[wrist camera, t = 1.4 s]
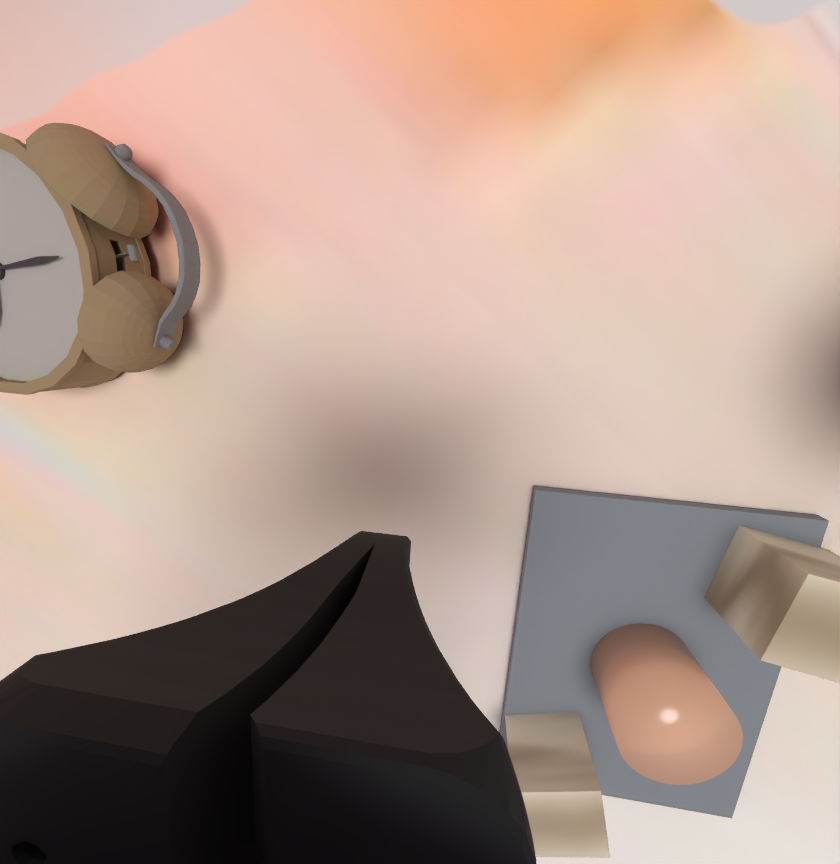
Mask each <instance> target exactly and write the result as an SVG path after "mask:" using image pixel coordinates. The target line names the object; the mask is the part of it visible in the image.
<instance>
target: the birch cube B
mask: <svg viewBox="0 0 840 864" xmlns="http://www.w3.org/2000/svg"><path fill="white" fill-rule="evenodd" d="M704 598H705V599H706V600H707V601H708V602H709V604H710V605H711V606H712V607H713V608H714V609H715V610H716V611H717V612H718V614H719V615H720V616H721V617H722V618H723V619H724V620H725V621H726V622H727V624H728V625H729V626H730V627H731V628H732V629H733V630H734V631H735V632H736V634H737V635H738V636H739V637H740V638H741V639H742V640H743V641H744V642H745V644H746V645H747V646H748V647H749V648H750V649H751V650H752V651H753V652H754V654H755V655H756V656H757V657H758V658H759V659H760V660H761V661H765V662H768V663H772V664H775V665H779V666H782V667H785V668H789V669H792V670H796V671H799V672H803V673H806V674H810V675H813V676H817V677H820V678H823V679H827V680H830V681H834V682H837V683H840V556H838V555H837V554H835V553H833V552H831V551H830V550H828V549H825V548H821V547H818V546H814V545H810V544H806V543H803V542H799V541H795V540H792V539H788V538H784V537H780V536H777V535H773V534H769V533H766V532H762V531H758V530H754V529H751V528H747V527H743V526H740V525H739V527H738V529H737V531H736V533H735V535H734V537H733V539H732V541H731V543H730V545H729V547H728V549H727V551H726V553H725V555H724V557H723V559H722V561H721V563H720V565H719V567H718V570H717V572H716V574H715V576H714V578H713V580H712V582H711V584H710V586H709V588H708V590H707V592H706V594H705V596H704Z"/></svg>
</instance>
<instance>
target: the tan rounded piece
mask: <svg viewBox="0 0 840 864" xmlns="http://www.w3.org/2000/svg"><path fill="white" fill-rule="evenodd" d="M590 669H591V674H592V677H593V679H594V682H595V685H596V688H597V691H598V693H599V696H600V699H601V702H602V705H603V707H604V710H605V713H606V716H607V719H608V721H609V724H610V727H611V730H612V733H613V735H614V738H615V741H616V744H617V747H618V749H619V752H620V754H621V756H622V757H623V759H624V760H625V761H626V763H627V764H628V765H629V766H630V767H631V768H632V769H634V770H635V771H636V772H638V773H639V774H641V775H643V776H644V777H647V778H649V779H651V780H654V781H657V782H661V783H665V784H672V785H689V784H696V783H700V782H704V781H707V780H710V779H712V778H714V777H716V776H718V775H720V774H721V773H723V772H724V771H726V770H727V769H728V768H729V767H730V766H731V765H732V764H733V763H734V762H735V760H736V759H737V757H738V756H739V753H740V751H741V748H742V744H743V732H742V728H741V725H740V722H739V720H738V718H737V717H736V715H735V714H734V713H733V711H732V710H731V708H730V707H729V705H728V704H727V703H726V701H725V700H724V698H723V697H722V695H721V694H720V693H719V691H718V690H717V688H716V687H715V685H714V684H713V683H712V681H711V680H710V678H709V677H708V675H707V674H706V673H705V671H704V670H703V668H702V667H701V665H700V664H699V663H698V661H697V660H696V658H695V657H694V655H693V654H692V653H691V651H690V650H689V648H688V647H687V645H686V644H685V643H684V641H683V640H682V639H681V638H680V637H679V636H677V635H676V634H675V633H673V632H672V631H670V630H668V629H666V628H663V627H661V626H657V625H653V624H645V623H637V624H629V625H625V626H622V627H619V628H616V629H614V630H612V631H610V632H609V633H607V634H606V635H605V636H604V637H602V638H601V639H600V641H599V642H598V643H597V644H596V646H595V647H594V649H593V652H592V655H591V658H590Z"/></svg>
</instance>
